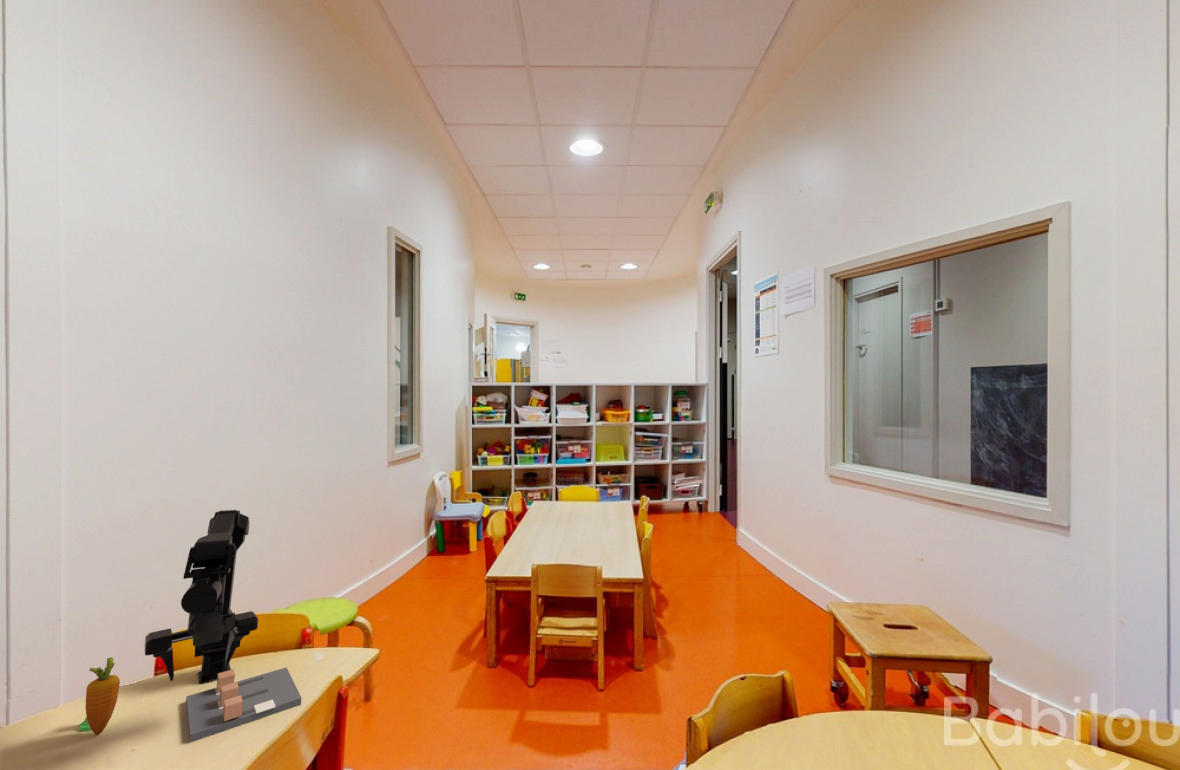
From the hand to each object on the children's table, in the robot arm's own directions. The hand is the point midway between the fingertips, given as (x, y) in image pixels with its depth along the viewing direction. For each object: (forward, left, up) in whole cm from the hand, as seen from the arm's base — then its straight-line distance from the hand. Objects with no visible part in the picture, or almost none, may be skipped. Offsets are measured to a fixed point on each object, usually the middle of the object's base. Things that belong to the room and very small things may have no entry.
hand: (200, 672), depth 100 cm
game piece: (-15, -16, -12) cm, 25 cm away
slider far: (-11, +6, -10) cm, 16 cm away
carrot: (-10, -15, -12) cm, 22 cm away
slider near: (+3, +6, -10) cm, 12 cm away
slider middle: (-4, +6, -10) cm, 12 cm away
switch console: (-4, +9, -12) cm, 15 cm away
